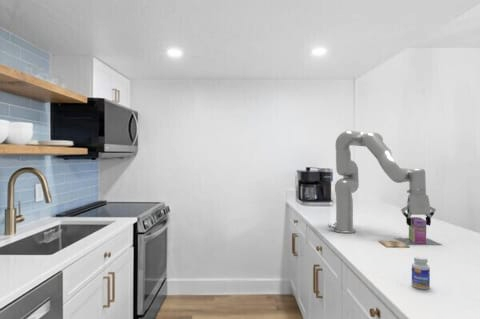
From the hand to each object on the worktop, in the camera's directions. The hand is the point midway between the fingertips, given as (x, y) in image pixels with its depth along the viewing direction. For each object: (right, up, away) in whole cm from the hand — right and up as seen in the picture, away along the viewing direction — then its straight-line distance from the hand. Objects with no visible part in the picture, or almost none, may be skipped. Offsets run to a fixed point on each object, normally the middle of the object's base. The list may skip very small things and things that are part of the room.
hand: (418, 225), depth 178 cm
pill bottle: (-32, -9, -62) cm, 71 cm away
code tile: (0, -9, 0) cm, 9 cm away
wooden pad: (-16, -9, -6) cm, 19 cm away
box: (0, -9, 0) cm, 9 cm away
